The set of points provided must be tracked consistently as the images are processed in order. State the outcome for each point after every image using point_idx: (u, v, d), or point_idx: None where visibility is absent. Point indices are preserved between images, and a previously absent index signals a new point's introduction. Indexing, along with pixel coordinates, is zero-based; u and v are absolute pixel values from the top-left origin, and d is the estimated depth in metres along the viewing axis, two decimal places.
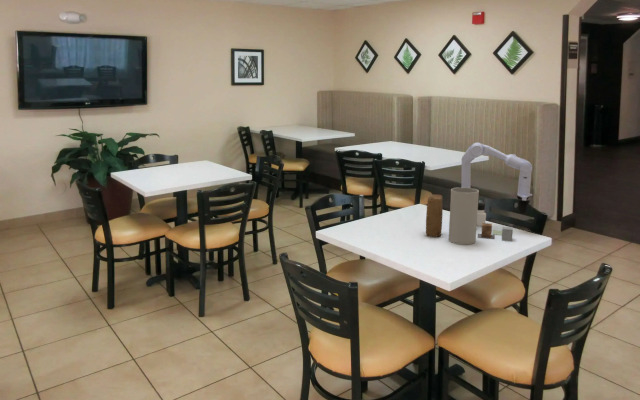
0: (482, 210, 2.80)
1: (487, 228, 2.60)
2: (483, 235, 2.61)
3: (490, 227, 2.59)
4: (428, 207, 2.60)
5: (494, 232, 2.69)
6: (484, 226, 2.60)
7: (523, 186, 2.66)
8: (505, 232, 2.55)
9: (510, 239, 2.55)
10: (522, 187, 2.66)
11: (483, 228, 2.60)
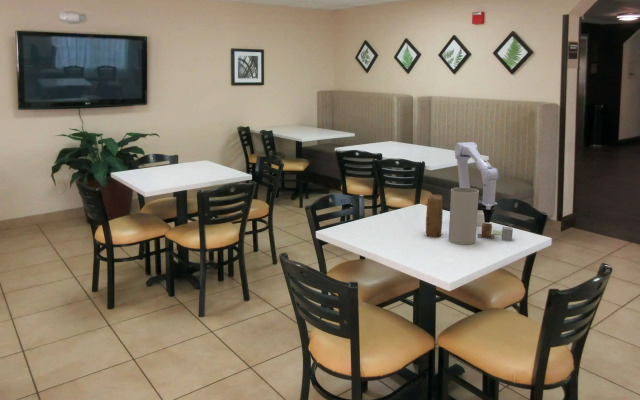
0: None
1: (487, 228, 2.60)
2: (483, 235, 2.61)
3: (490, 227, 2.59)
4: (428, 207, 2.60)
5: (494, 232, 2.69)
6: (484, 226, 2.60)
7: (487, 194, 2.56)
8: (505, 232, 2.55)
9: (510, 239, 2.55)
10: (486, 195, 2.56)
11: (483, 228, 2.60)
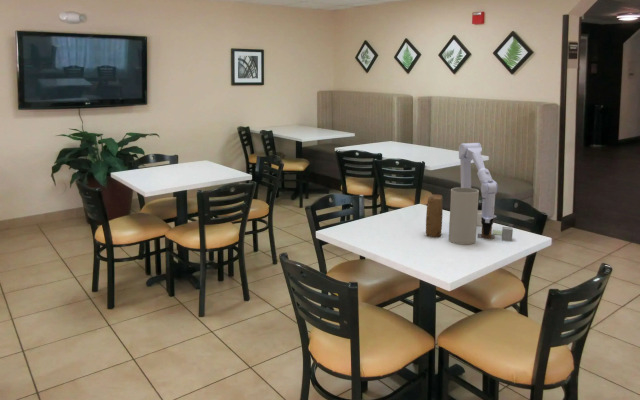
0: None
1: None
2: (483, 235, 2.61)
3: None
4: (428, 207, 2.60)
5: (494, 232, 2.69)
6: None
7: (486, 208, 2.57)
8: (505, 232, 2.55)
9: (510, 239, 2.55)
10: (486, 209, 2.57)
11: None
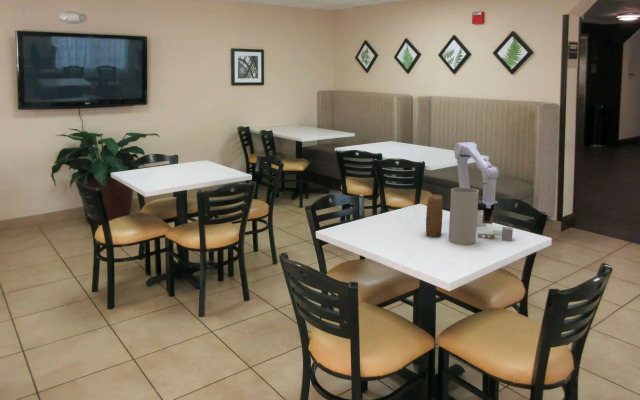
0: (482, 210, 2.80)
1: None
2: (484, 221, 2.59)
3: None
4: (428, 207, 2.60)
5: (494, 232, 2.69)
6: None
7: (488, 193, 2.56)
8: (505, 232, 2.55)
9: (510, 239, 2.55)
10: (487, 194, 2.56)
11: None
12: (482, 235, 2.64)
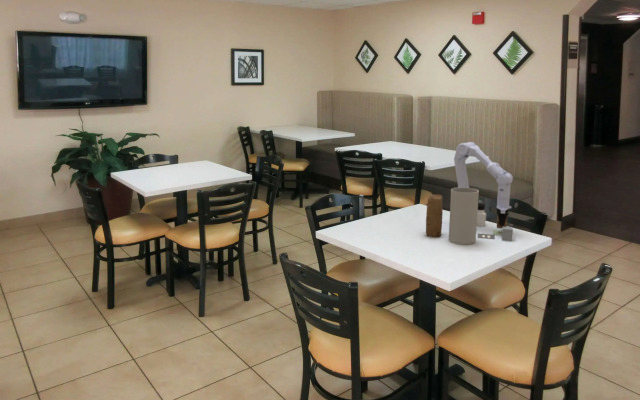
0: (482, 210, 2.80)
1: None
2: (499, 226, 2.66)
3: (506, 218, 2.64)
4: (428, 207, 2.60)
5: (494, 232, 2.69)
6: None
7: (502, 199, 2.62)
8: (505, 232, 2.55)
9: (510, 239, 2.55)
10: (501, 200, 2.62)
11: None
12: (482, 235, 2.64)
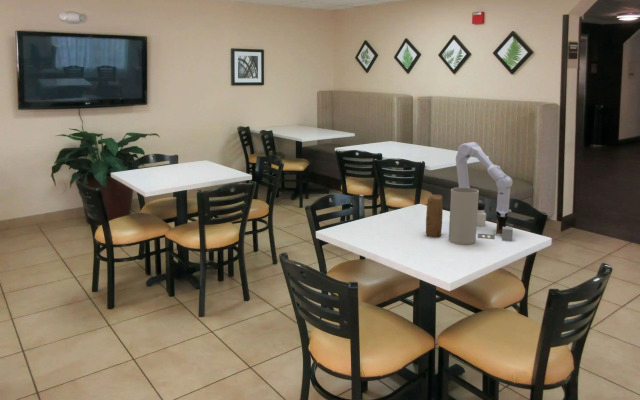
0: (482, 210, 2.80)
1: None
2: (498, 231, 2.66)
3: (505, 224, 2.64)
4: (428, 207, 2.60)
5: (494, 232, 2.69)
6: None
7: (502, 202, 2.62)
8: (505, 232, 2.55)
9: (510, 239, 2.55)
10: (501, 203, 2.63)
11: (498, 224, 2.66)
12: (482, 235, 2.64)
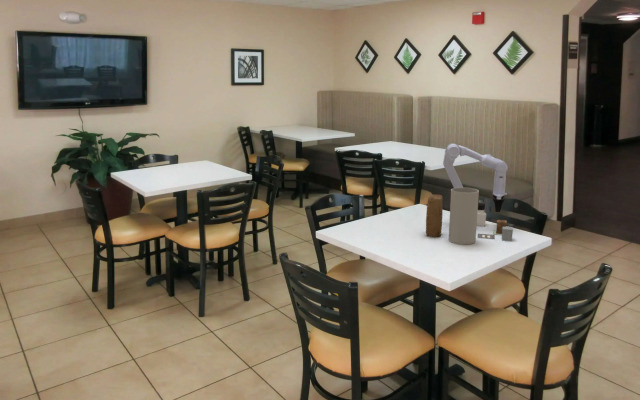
0: (482, 210, 2.80)
1: (502, 225, 2.65)
2: (498, 231, 2.66)
3: (505, 224, 2.64)
4: (428, 207, 2.60)
5: (494, 232, 2.69)
6: (499, 223, 2.65)
7: (498, 185, 2.72)
8: (505, 232, 2.55)
9: (510, 239, 2.55)
10: (497, 186, 2.72)
11: (498, 224, 2.66)
12: (482, 235, 2.64)
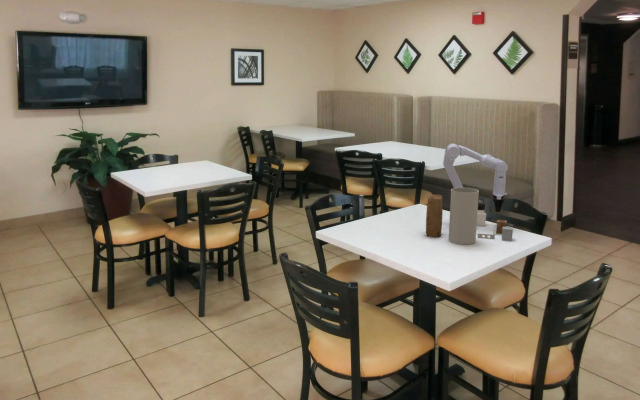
0: (482, 210, 2.80)
1: (502, 225, 2.65)
2: (498, 231, 2.66)
3: (505, 224, 2.64)
4: (428, 207, 2.60)
5: (494, 232, 2.69)
6: (499, 223, 2.65)
7: (498, 185, 2.72)
8: (505, 232, 2.55)
9: (510, 239, 2.55)
10: (497, 186, 2.72)
11: (498, 224, 2.66)
12: (482, 235, 2.64)
